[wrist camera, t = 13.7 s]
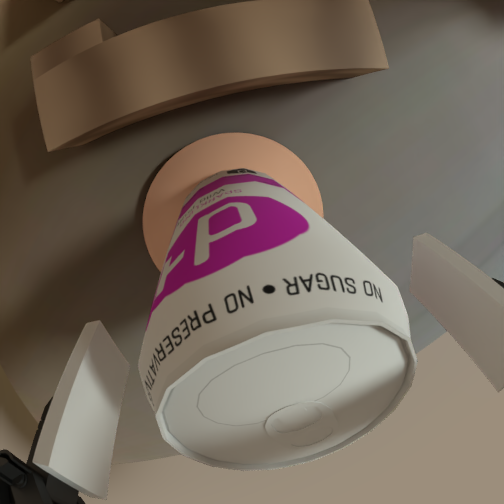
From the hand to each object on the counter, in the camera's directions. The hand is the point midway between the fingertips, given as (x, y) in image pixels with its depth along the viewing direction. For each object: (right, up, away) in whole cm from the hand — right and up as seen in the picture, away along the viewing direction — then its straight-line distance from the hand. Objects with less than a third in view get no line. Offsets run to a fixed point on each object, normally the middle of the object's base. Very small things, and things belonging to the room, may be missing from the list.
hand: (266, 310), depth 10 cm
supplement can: (-1, +4, +9) cm, 10 cm away
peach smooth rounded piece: (-2, +4, +10) cm, 11 cm away
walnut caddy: (-5, +21, +2) cm, 22 cm away
